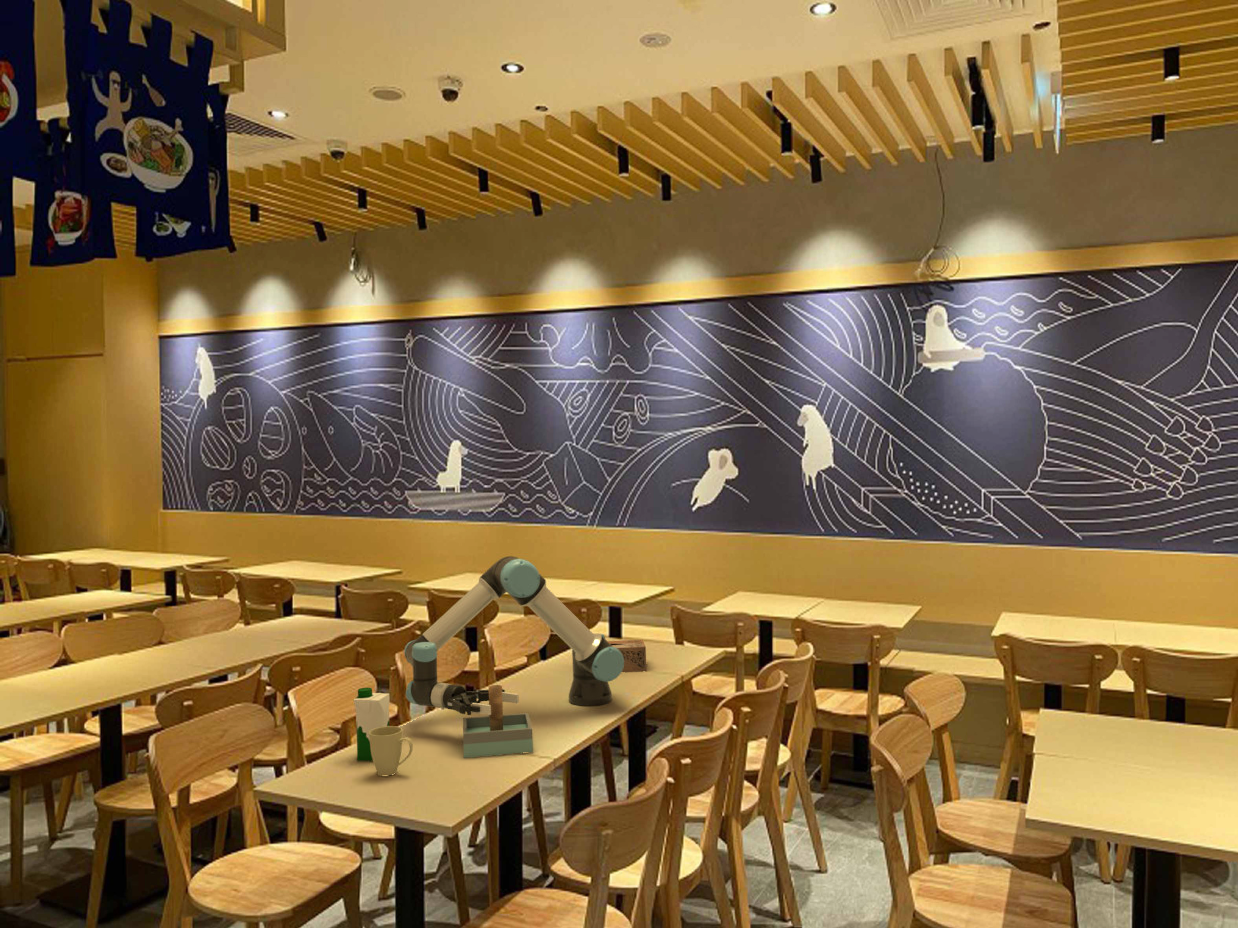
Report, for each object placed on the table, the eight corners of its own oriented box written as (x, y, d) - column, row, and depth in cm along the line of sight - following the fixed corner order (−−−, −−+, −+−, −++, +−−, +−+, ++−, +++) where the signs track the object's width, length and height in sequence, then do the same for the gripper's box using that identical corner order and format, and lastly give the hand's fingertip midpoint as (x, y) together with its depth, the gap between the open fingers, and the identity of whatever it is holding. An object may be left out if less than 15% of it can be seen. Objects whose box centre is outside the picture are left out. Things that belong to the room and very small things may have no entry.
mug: (373, 782, 260) (372, 738, 259) (368, 771, 269) (366, 728, 268) (414, 775, 264) (412, 732, 264) (407, 765, 273) (405, 723, 273)
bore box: (528, 735, 298) (528, 712, 298) (532, 752, 281) (532, 728, 281) (463, 740, 295) (463, 717, 295) (463, 757, 278) (463, 733, 278)
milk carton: (366, 751, 286) (364, 685, 286) (394, 752, 285) (392, 685, 284) (352, 761, 278) (350, 692, 277) (381, 762, 276) (379, 693, 276)
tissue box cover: (580, 674, 376) (580, 649, 375) (580, 666, 390) (579, 642, 390) (646, 672, 377) (645, 646, 377) (643, 663, 392) (642, 639, 391)
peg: (503, 743, 290) (501, 684, 290) (504, 747, 286) (502, 687, 286) (490, 744, 290) (488, 685, 289) (490, 748, 286) (488, 688, 285)
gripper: (475, 698, 308) (529, 706, 297) (422, 719, 286) (478, 727, 275) (474, 675, 308) (528, 682, 297) (421, 694, 286) (477, 702, 275)
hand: (504, 704), depth 286 cm, fingers open, 13 cm apart
